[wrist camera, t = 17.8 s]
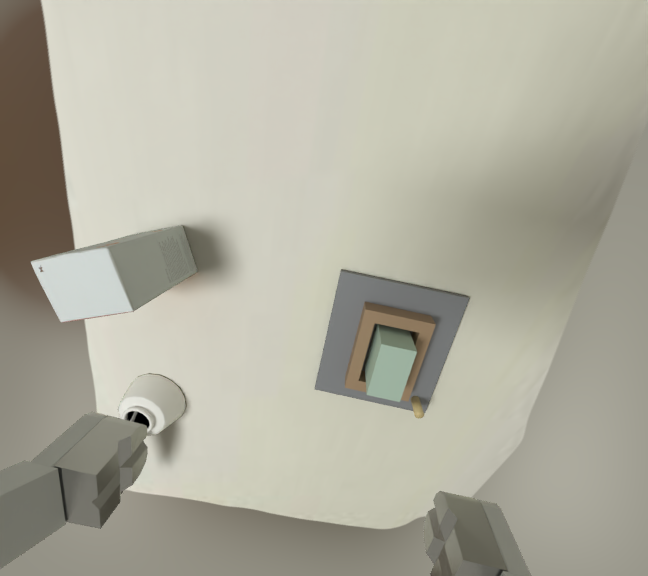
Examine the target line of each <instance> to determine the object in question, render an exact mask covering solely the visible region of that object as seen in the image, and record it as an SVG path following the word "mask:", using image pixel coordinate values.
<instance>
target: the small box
mask: <svg viewBox="0 0 648 576" xmlns="http://www.w3.org/2000/svg"><path fill="white" fill-rule="evenodd" d="M31 264H32V266H33V269H34V271H35V273H36V275H37V277H38V279H39V281H40V283H41V285H42V287H43V289H44V291H45V293H46V295H47V297H48V299H49V301H50V302H51V304H52V306H53V308H54V310H55V312H56V314H57V316H58V317H59V320H60V321H61V322H69V321H76V320H82V319H89V318H95V317H102V316H109V315H115V314H121V313H128V312H134V311H135V310H136V309H138V308H140V307H141V306H143V305H144V304H146V303H148V302H149V301H151V300H152V299H154V298H156V297H157V296H159V295H161V294H162V293H164V292H165V291H167V290H169V289H170V288H172V287H174V286H175V285H177V284H178V283H180V282H182V281H183V280H185V279H187V278H188V277H190V276H191V275H193V274H195V273H196V272H197V267H196V264H195V261H194V258H193V255H192V252H191V249H190V246H189V243H188V240H187V237H186V234H185V231H184V228H183V226H175V227H170V228H164V229H159V230H154V231H149V232H144V233H139V234H134V235H129V236H126V237H122V238H118V239H115V240H111V241H108V242H104V243H100V244H96V245H92V246H88V247H84V248H80V249H76V250H72V251H68V252H65V253H61V254H57V255H53V256H50V257H45V258H42V259H38V260H34V261H31Z"/></svg>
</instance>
